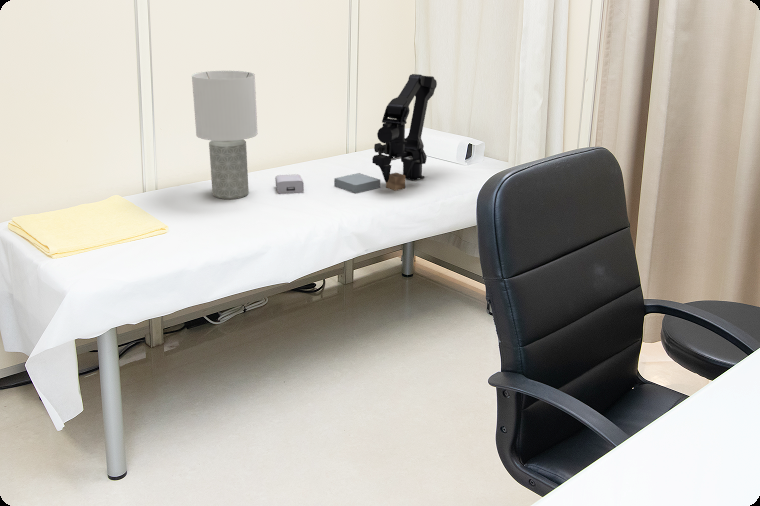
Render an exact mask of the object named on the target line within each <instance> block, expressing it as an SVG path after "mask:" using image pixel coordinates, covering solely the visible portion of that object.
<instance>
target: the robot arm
mask: <svg viewBox="0 0 760 506" xmlns="http://www.w3.org/2000/svg"><path fill="white" fill-rule="evenodd" d="M437 83H438V82H437V79H435V77H434V76H432V75H431V76H429V75H422V74H419V73H418V74H417V73H412V74H410V75H409V76H408V79H407V82H406V83H405V85H404V87H403V88H402V90H401V92H400V93H399V95H398V96H396V97H394V98H392V99H391V100H390V101H389V102H388V104H387V105H386V107H385V110H384V113H383V117H382V120H381V123H382V126H381V127H380V128H379V129H378V130H377V133H376V136H377V139H378V140H379V142H378V143H374V146H373V149H374V153H378V154H375V155H373V156H372V159H371V160H372V164H374V165H375V166H378V167H379V169H380V171H381V173H382V176H383V179H384V182H385V183H386V182H388V180H389V175H390V174H391V170H392V165H391V163H392V161H396V160H400V161H401V162H402V175H405V179H407V180H411V181H416V180H420V179H424V178H425V176H424V175H422V174H423V173H422V172H423V165H426V162H427V154H426V152H425V150H424V147H425V146H424V145H425V144H424V142H423V141H422V135H423V129H424V123H425V118H426V112H427V107H428V104H429V103H428V102H429V100H430V99H431V97H433V96H434V94H435V93H434V92H435V90H436V88H437V85H438V84H437ZM414 98H415V101H414V105H413V111H412V116H411V121H410V127H409V131H408V135H407V136H406V124H407V119H408V117H409V114H410V104H411V102H412V101H413V99H414ZM380 142H381V143H380Z"/></svg>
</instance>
